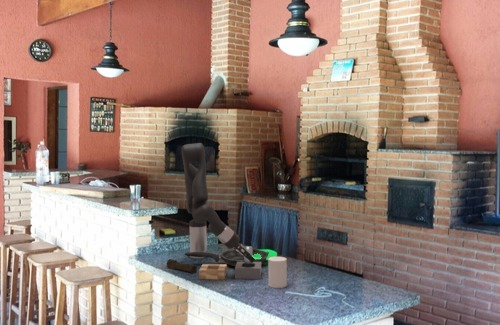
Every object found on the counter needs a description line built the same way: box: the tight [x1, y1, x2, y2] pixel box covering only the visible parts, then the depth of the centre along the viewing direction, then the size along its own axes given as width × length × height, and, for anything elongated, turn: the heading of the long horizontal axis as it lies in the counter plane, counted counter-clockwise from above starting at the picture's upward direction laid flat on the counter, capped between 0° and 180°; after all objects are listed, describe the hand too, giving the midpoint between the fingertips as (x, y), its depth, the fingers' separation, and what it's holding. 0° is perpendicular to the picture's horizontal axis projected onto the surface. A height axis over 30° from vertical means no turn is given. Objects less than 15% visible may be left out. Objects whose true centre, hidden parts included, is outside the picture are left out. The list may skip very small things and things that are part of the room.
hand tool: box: [166, 258, 198, 274], centre depth 254 cm, size 19×4×5 cm, turn 52°
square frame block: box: [198, 263, 228, 280], centre depth 243 cm, size 12×12×4 cm
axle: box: [243, 245, 253, 267], centre depth 242 cm, size 4×4×12 cm
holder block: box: [234, 262, 262, 280], centre depth 243 cm, size 12×12×5 cm
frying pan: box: [184, 248, 269, 267], centre depth 264 cm, size 44×25×7 cm, turn 95°
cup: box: [267, 256, 288, 289], centre depth 227 cm, size 8×8×12 cm
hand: (252, 260), depth 243 cm, fingers closed on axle, 4 cm apart
